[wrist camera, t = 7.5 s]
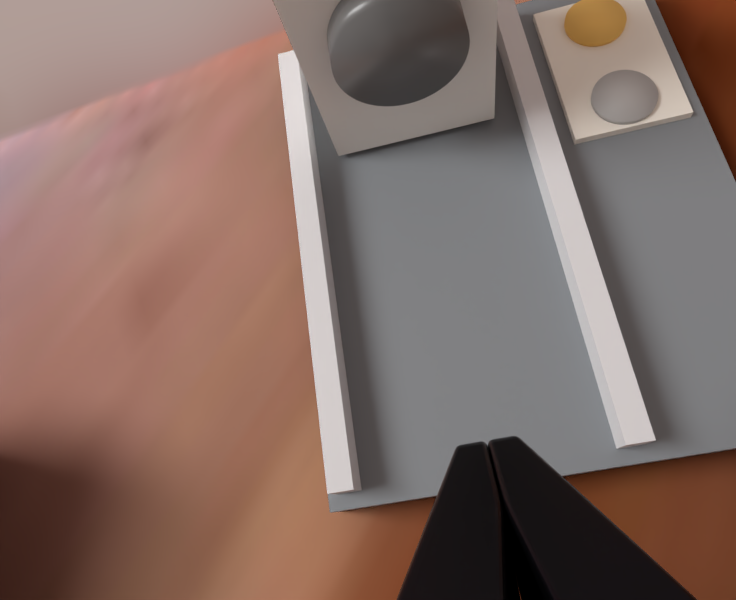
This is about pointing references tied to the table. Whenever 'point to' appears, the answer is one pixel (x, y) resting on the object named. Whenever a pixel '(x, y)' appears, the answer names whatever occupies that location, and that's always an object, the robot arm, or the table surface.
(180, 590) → the table surface
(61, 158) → the table surface
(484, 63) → the toggle
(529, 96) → the switch board
